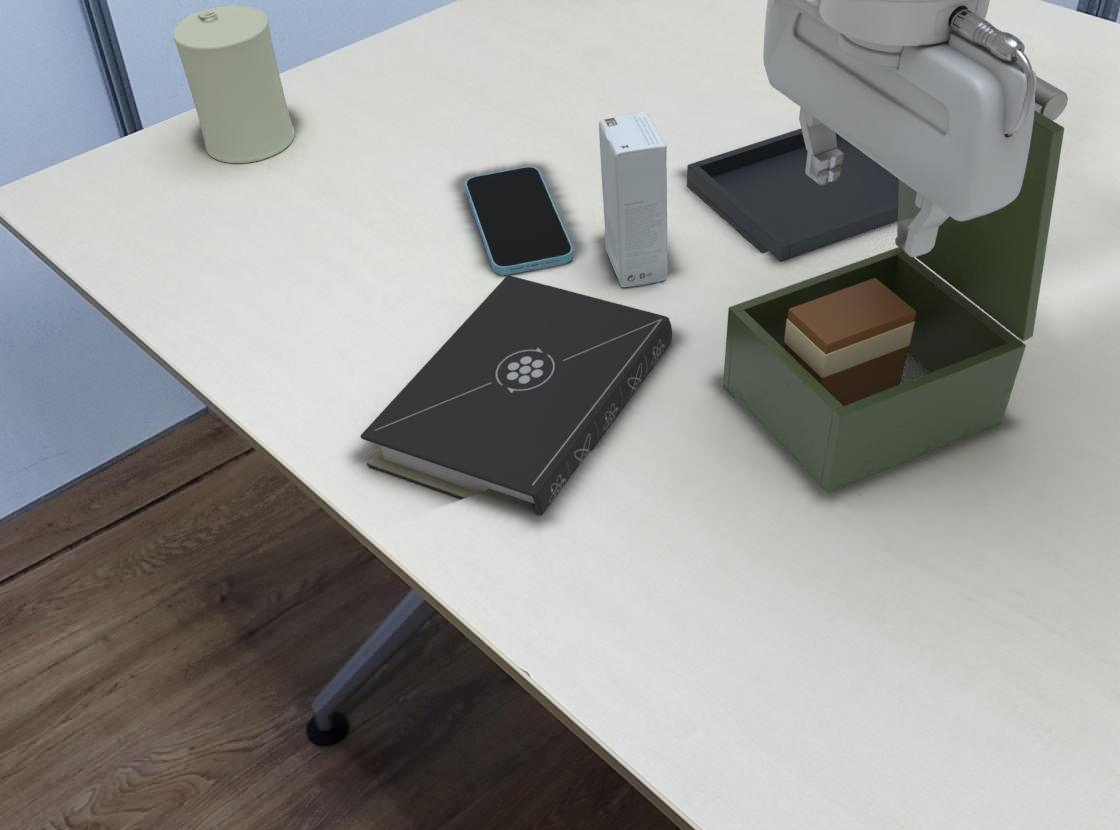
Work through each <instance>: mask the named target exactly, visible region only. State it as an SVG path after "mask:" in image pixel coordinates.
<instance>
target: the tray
mask: <svg viewBox="0 0 1120 830" xmlns="http://www.w3.org/2000/svg"><path fill="white" fill-rule="evenodd" d="M836 140H837V148H838V149H839V150H840V151H841V152H843V153H844V159H843V164H842V165H841V168H842V172H841V175H840V177H839V178H838V179H837V180H836V181H834V182H827V183H826V184H825V185H819V184H818V183H817V182H815V181H814V180H813V179H812V178H810V177H809V176H808V175H806V172H805V170H806V161H807V153H808V151H807V150H806V146H805V142H804V137H803V133H802V129H801V128H798V129H795V130H791V131H788V132H785V133H782V134H780V135H776V136H773V137H769V138H766V139H764V140H761V141H757V142H755V143H754V142H753V143H751V144H748V145H745V146H741V147H738V148H735V149H732V150H729V151H725V152H723V153H720V154H717V155H714V156H710V157H708V158H705V159H704V158H703V159H701V160H697V161H695V162H692V163H689V164H687V167H686V168H687V169H686V187H688V188H689V189H690V191H692V192H693V193H694V194H696V195H697V196H698V197H699V198H700V199H701V200H702V201H703V202H704V203H706V205H708V206H709V207H710V208H711V209H712V210H713V211H714V212H715V213H716V214H718V215H719V216H720V217H721V218H722V219H723V220H724V221H726V223H728V224H729V225H730V226H731V227H732V228H734V230H736V231H737V232H738V234H740V235H742V237H743V238H745V239H746V240H747V241H748V242H749V243H750V244H751V245H752V246H753V247H755V248H756V249H757V250H758V251H759V252H760V253H762V254H765V253H768V252H769V253H770V254H771V255H773V257H775V258H776V259H777V260H778V261H779V262H783V261H786V260H789V259H792V258H795V257H798V256H801V255H804V254H807V253H809V252H813V251H815V250H818V249H821V248H824V247H826V246H831V245H832V244H835V243H838V242H841V241H844V240H847V239H850V238H853V237H855V236H856V237H857V236H858V235H861V234H864V233H867V232H870V231H873V230H876V229H878V228H881V227H884V226H887V225H890V224H892V223H895V222H898V189H899V179H898V178H897V177H896V176H894V175H893V174H892V173H890V172H889V171H887V170H886V169H885V168H883V167H882V166H881V165H879V164H878V163H877V162H875V161H874V160H872V159H871V158H870V157H868V156H867V155H866V154H864V153H863V152H861V151H860V150H859V149H857V148H856V147H855V146H853V145H852V144H851V143H849V142H848V141H846V140H845V139H844V138H842V137H841V136H840V135H838V134H837V133H836Z"/></svg>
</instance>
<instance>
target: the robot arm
mask: <svg viewBox="0 0 1120 830" xmlns="http://www.w3.org/2000/svg"><path fill="white" fill-rule="evenodd" d="M990 2H991V0H767V1H766V11H765V19H764V33H763V48H762V49H763V50H762V60H763V66H764V70H765V72H766V77H767V80H768V83H769V85H770V86H771V87H772V88H773V89H775V90H776V91H778V92H779V93H781V94H782V95H784V96H785V97H786V98H788V100H790V101H792V102H793V103H794V104H796V105H797V106H798V107H800V109H799V115H798V120H799V124H800V125H799V126H800V129H802V133H803V137H804V142H805V146H806V150H807V151H808V153H807V161H806V170H805V172H806V175H808V176H809V177H810V178H812V179H813V180H814V181H815V182H817V183H818V184H819V185H825V184H826V183H827V182H834V181H836V180H837V179H838V178H839V177H840V175H841V172H842V168H841V165H842V164H843V159H844V153H843V152H841V151H840V150H839V149H838V148H837V140H836V133H837V134H838V135H840V136H841V137H842V138H844V139H845V140H846V141H848V142H849V143H851V144H852V145H853V146H855V147H856V148H857V149H859V150H860V151H861V152H863V153H864V154H866V155H867V156H868V157H870V158H871V159H872V160H874V161H875V162H877V163H878V164H879V165H881V166H882V167H883V168H885V169H886V170H887V171H889V172H890V173H892V174H893V175H894V176H896V177H897V178H898V179H900V180H901V181H903V182H904V183H905V184H907V185H908V186H909V187H911V188H912V189H913V190H915V191H916V192H917V195H916V200H915V204H916V206H917V207H919V208H921V211H920V212H919V213H918V214H917V215H916V216H914V218H908V219H905V220H902V221H899V224H898V223H897V226H898V229H896V237H895V239H894V244H895V245H896V246H897V247H899V248H900V249H902V250H903V251H904V252H905V253H907V254H908V255H909V256H910V257H913V258H916V257H917V256H920V255H923V254H926V253H928V252H930V251H931V250H932V248H933V247H934V245H935V241H936V236H937V232H938V228H939V226H940V225H941V224H942V223H943V222H944V221H945V220H946V219H947V218H948V217H949V216H950V217H952V218H953V219H955V220H957V221H967V220H971V219H974V218H977V217H980V216H983V215H986V214H989V213H992V212H994V211H997V210H999V209H1001V208H1003V207H1005V206H1006V205H1008V204H1009V203H1011V202H1012V201H1013V200H1015V198H1016V197H1017V196H1018V195H1019V192H1020V190H1021V187H1022V183H1023V179H1024V174H1025V169H1026V164H1027V159H1028V154H1029V148H1030V141H1031V135H1032V128H1033V120H1034V110H1035V90H1036V84H1037V77H1038V76H1037V73H1036V72H1035V71H1034V70H1033V67H1032V64H1031V62H1030V60H1029V57H1028V56H1027V55H1026V54H1025V53H1024V52H1025V48H1026V47H1025V44H1024V42H1023V41H1022V40H1020V38H1019V37H1017V35H1014V34H1012V33H1010V32H1007V31H1002V30H1000V29H998V28H997V27H995V26H994V25H993V24H992V23H991V22H989V21H988V20H986V17H987V15H988V11H989V7H990ZM1036 76H1037V77H1036ZM897 234H898V236H897Z"/></svg>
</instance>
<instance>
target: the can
mask: <svg viewBox="0 0 1120 830" xmlns="http://www.w3.org/2000/svg"><path fill="white" fill-rule="evenodd" d="M269 25H270V24H269V18H268V16H267V14H266V13H265V12H264V11H262V9H261V10H260V9H258V8H256V7H253V6H247V5H223V6H217V7H211V8H207V9H204V10H200V11H198V12H196V13H194V14H191V15H189V16H188V17H185V18H184V19H183V20H181V21H180V22H179V23H177V24H176V26H175V27H174V29H173V31H172V38H173V41H174V43H175V45H176V49H177V51H178V55H179V58H180V62H181V64H182V68H183V71H184V75H185V77H186V80H187V84H188V87H189V90H190V94H191V97H192V101H193V104H194V108H195V110H196V114H197V118H198V121H199V125H200V128H201V132H202V136H203V140H204V148H205V151H206V152H207V154H208V156H210V157H211V158H213V159H215V160H216V161H219V162H223V163H227V164H248V163H254V162H260V161H263V160H266V159H269V158H272V157H274V156H276V155H278V154H279V153H281V152H283V151H284V150H286V149H287V148H288V147H289V146H290V145H291V144H292V142H293V141H294V140H295V135H296V134H295V133H296V132H295V128H294V126H293V123H292V119H291V116H290V113H289V108H288V105H287V100H286V97H285V93H284V87H283V83H282V80H281V75H280V71H279V67H278V62H277V59H276V58H277V57H276V54H275V48H274V43H273V39H272V35H271V31H270V26H269Z"/></svg>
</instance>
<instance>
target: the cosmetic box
mask: <svg viewBox="0 0 1120 830" xmlns="http://www.w3.org/2000/svg"><path fill="white" fill-rule="evenodd" d="M598 132H599V133H598V135H599V137H598V138H599V152H600V155H599V156H600V171H601V186H602V203H603V204H602V205H603V217H604V218H603V222H604V238H605V251H606V254H607V256H608V259H609V261H610V263H611V266H612V269H613V271H614V273H615V275H616V278H617V280H618V283H619V285H620V287H622V288H630V287H639V286H645V285H650V284H655V283H661V282H665V281H667V279H668V275H669V269H668V268H669V266H668V265H669V263H668V261H669V259H668V257H669V256H668V252H669V251H668V170H667V169H668V168H667V167H668V166H667V159H668V158H667V152H668V150H667V149H668V146H667V144H666V143H665V141H664V139H663V137H662V135H661V134H660V133H659V131H658V129H657V127H656V125H655V123H654V122H653V120H652V118H651V117H650V115H649V113H648V112H647V111H643V112H636V113H630V114H626V115H621V116H615V117H611V118H604V119H601V120H599V121H598Z"/></svg>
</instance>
